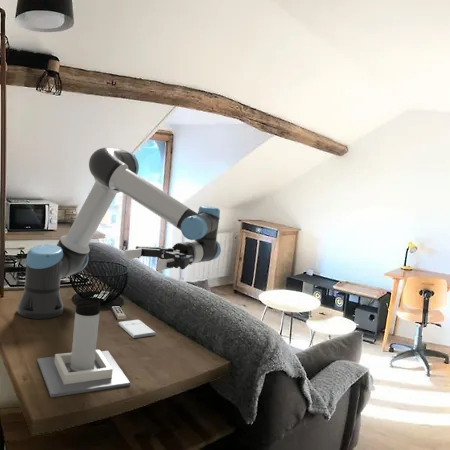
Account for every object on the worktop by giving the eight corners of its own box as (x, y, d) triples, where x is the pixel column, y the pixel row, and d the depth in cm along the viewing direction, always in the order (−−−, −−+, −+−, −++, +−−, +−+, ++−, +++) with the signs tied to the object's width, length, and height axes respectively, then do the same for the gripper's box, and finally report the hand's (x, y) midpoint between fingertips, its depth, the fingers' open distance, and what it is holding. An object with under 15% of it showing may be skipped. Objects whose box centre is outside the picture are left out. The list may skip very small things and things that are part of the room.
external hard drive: (133, 339, 151) (118, 325, 160) (155, 336, 156) (139, 323, 165) (133, 335, 150) (118, 321, 160) (155, 332, 155) (139, 318, 165)
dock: (37, 361, 126) (38, 349, 126) (107, 353, 137) (108, 342, 137) (50, 397, 110) (51, 384, 109) (129, 385, 120) (131, 373, 120)
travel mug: (99, 369, 125) (106, 300, 122) (82, 378, 119) (89, 305, 116) (82, 362, 128) (88, 294, 125) (64, 370, 122) (71, 299, 119)
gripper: (215, 273, 144) (171, 283, 127) (158, 255, 158) (111, 262, 141) (218, 250, 143) (174, 257, 126) (160, 234, 157) (113, 238, 140)
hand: (140, 260), depth 133 cm, fingers open, 13 cm apart
